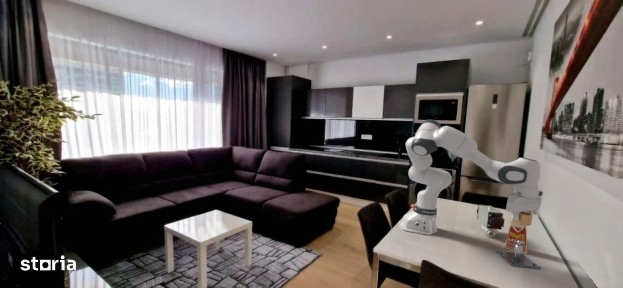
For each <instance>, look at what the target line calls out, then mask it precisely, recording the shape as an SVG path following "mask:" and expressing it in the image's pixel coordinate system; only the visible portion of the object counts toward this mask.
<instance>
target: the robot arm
mask: <svg viewBox="0 0 623 288" xmlns="http://www.w3.org/2000/svg"><path fill="white" fill-rule="evenodd" d="M439 147H441V148H444V149H445V150H447V151H448V152H450V153H451V154H452V155H455V156H457V157H459V158H461V159H464V160H465V159H466V160H469V161H470V162H472V163H473V164H475V165H477V166H478V167H479V168H481V169H482V170H483V172H484V174H485V175H486V176H487V178H489V179H491V180H494V181H497V182H499V183H502V184H503V185H504V184H505V185H513V191H512V194H511V195H509V196H508V197H507V202H506V207H505V209H506V211H507V212H508V213H512V215H513V216H514V220H515V221H519V220H520V217H519V215H518V214H519V212H528V213H531V214H532V215H533V213H534V212H533V211H537V210H539V209H540V208H541V204H542V197H543V195H544V191H543V190H540V189H539V184H538V183H539V180H540V175H541V165H540V163H539V161H538V160H536V159H532V158H528V157H518V159H515V160H513V161H509V162H503V161H501V160H497V159H493V158H490V157H489V156H487V155H485V154H484V153H482V152H481V151H480V150H478V143H477V142H476V141H475V140H474V139H473V138H472V137H470V136H469V135H467V134H466V133H464V132H462V131H461V130H458V129H456V128H455V127H452V126H449V125H445V126H444V125H443V126H442V125H441V124H440V122H438V121H437V120H435V119H426V120H424V121H423V122H421V124H420V126H419V127H418V129H417V130H416V132H415V134H414V136H412V137H409V138H408V139H407V140H406V141H405V149H406V151H407V155H408V158H409V159H410V162H411V164H412V166H411V167H410V168H409V169H408V172H407V173H408V178H409V180H412V182H416V183H419V184H423V185H426V188H425V189H422V190H420V191H419V192H418V193H417V199H416V204H413V203H412V204H410V205H411V208H412V210H411V211H409V212H407V213H406V214H404V215H403V218H402V220H399V221H398V226H399V228H400V229H401V230H402V231H405V232H409V233H415V234H421V235H427V236H432V234H436V233H438V228H437V215H438V208H437V203H438V198H439V194H440V193H441V192H442V191H443V190H444V189H446V188H448V187H450V185H451V184H452V181H453V179H452V175H451V173H450V172H449V171H446V170H443V169H441V168H436V167H431V166H432V164H433V158H432V155H431V154H432V153H433V152H437V150H438V148H439Z"/></svg>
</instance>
